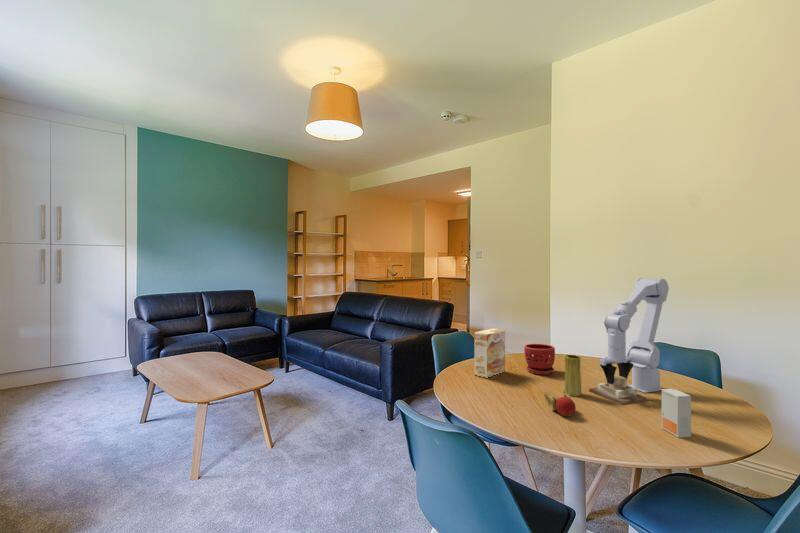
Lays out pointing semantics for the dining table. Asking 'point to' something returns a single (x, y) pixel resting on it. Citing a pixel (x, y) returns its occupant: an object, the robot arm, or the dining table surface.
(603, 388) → the socket board
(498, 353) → the coffeecake box
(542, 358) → the plant pot
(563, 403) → the kendama
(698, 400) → the dining table surface
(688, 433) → the skincare box
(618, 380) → the birch peg
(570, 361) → the vase
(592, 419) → the dining table surface
